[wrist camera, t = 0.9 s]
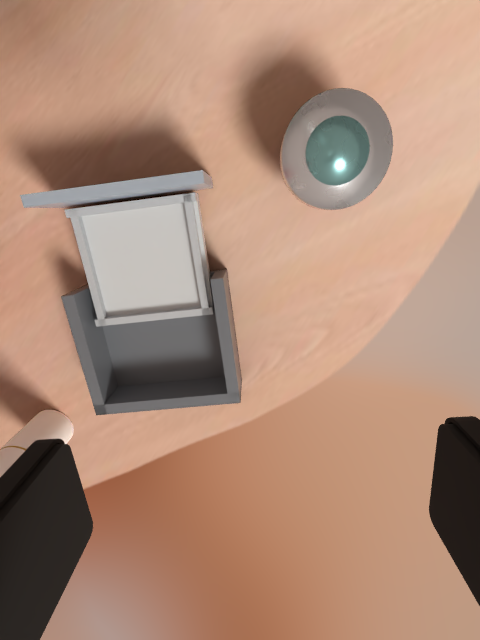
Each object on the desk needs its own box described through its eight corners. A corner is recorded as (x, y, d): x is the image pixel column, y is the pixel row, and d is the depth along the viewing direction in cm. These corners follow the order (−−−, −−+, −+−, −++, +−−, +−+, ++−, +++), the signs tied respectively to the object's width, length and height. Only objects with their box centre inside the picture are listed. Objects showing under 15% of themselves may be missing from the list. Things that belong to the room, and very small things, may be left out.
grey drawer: (61, 197, 28) (20, 195, 23) (211, 177, 27) (202, 170, 22) (94, 319, 31) (64, 340, 26) (229, 305, 30) (224, 324, 25)
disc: (275, 106, 22) (277, 96, 20) (382, 90, 22) (395, 78, 20) (283, 215, 24) (286, 215, 22) (381, 203, 24) (393, 202, 22)
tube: (30, 407, 35) (-125, 546, 20) (71, 411, 34) (-55, 553, 20) (35, 442, 36) (-107, 594, 22) (75, 445, 36) (-42, 600, 22)
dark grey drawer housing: (85, 285, 30) (60, 296, 26) (227, 269, 29) (223, 278, 25) (114, 391, 34) (96, 415, 30) (241, 380, 33) (240, 402, 29)
